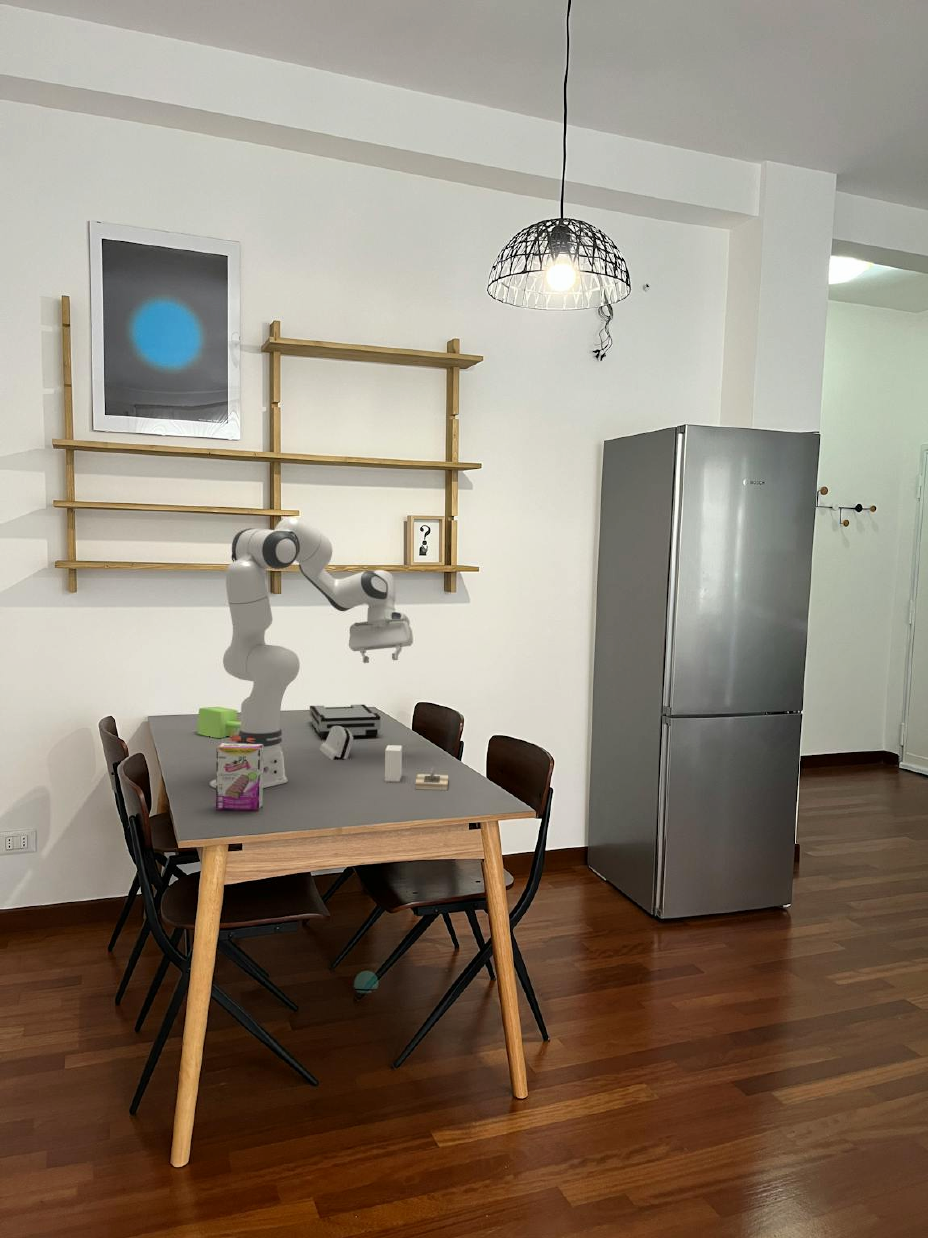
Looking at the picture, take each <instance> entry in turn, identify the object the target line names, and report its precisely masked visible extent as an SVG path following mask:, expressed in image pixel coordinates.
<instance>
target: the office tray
mask: <svg viewBox="0 0 928 1238" xmlns="http://www.w3.org/2000/svg"><path fill="white" fill-rule="evenodd" d="M309 716H310V718H311V723H312V725H313V727H314V729H315V728H316V729H315V730H316V731H317V733H318V735H319V736H321V737H320V739H322V740H327V737H328V735H329V732H330V730H331V728H332V727H333V726H341V727H344V728H346V729H348V730H349V731H350V732H351V733H352V736H359V737H358V738H359V739H368V738H369V739H371V738H370V737H377V735H379V733H378V731H379V730H381V716H380V715H379V713H377V712H372V710H370V709H369V708H368V707H367V705H365V704H350V706H330V707H329V706H328V707H327V706H326V707H325V705H309Z"/></svg>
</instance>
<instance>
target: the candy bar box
mask: <svg viewBox="0 0 928 1238" xmlns="http://www.w3.org/2000/svg"><path fill="white" fill-rule="evenodd" d="M215 764H216V765H215V766H216V774H215V775H216V777H215V778H216V788H215V792H216V793H215V808H216V810H219V811H220V810H223V811H224V810H225V811H230V810H231V811H260V810H259V809H261V808H262V807H261V806H263V802H264V800H263V799H264V798H263V797H264V796H263V795H264V793H263V792H264V788H263V744H237V743H236V742H235V743H233V742H232V743H231V742H230V743H229V742H228V743H227V742H223V743H222V742H221V743H220V744H218V745H217V746H216V763H215ZM260 807H261V808H260Z"/></svg>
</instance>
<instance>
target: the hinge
mask: <svg viewBox="0 0 928 1238" xmlns="http://www.w3.org/2000/svg"><path fill="white" fill-rule="evenodd" d="M353 742H354V735H352V733H351V732H350V731H349V730H348V729H346V728H344V727H341V726H333V727H332V728H331V730H330V732H329V735H328V737H327V739H325V742H323V743H321V745H320V747H319V750H320V752H322V754H324V755H325V756H327V758H329V759H330V760H331V761H334V759H335V757H337V758H342V760H343V759H344V760H348V757H349V754H350V751H351V748H352V745H353Z"/></svg>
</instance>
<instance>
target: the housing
mask: <svg viewBox="0 0 928 1238" xmlns="http://www.w3.org/2000/svg"><path fill="white" fill-rule="evenodd" d="M384 756H385V757H384V768H385V769H384V782H401V778H402V775H403V774H402V773H403V770H402V769H403V766H402V765H403V764H402V763H403V745H394V744H393V745H392V744H391V745H389V744H388V745H387V746H386V748H385V753H384Z"/></svg>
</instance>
